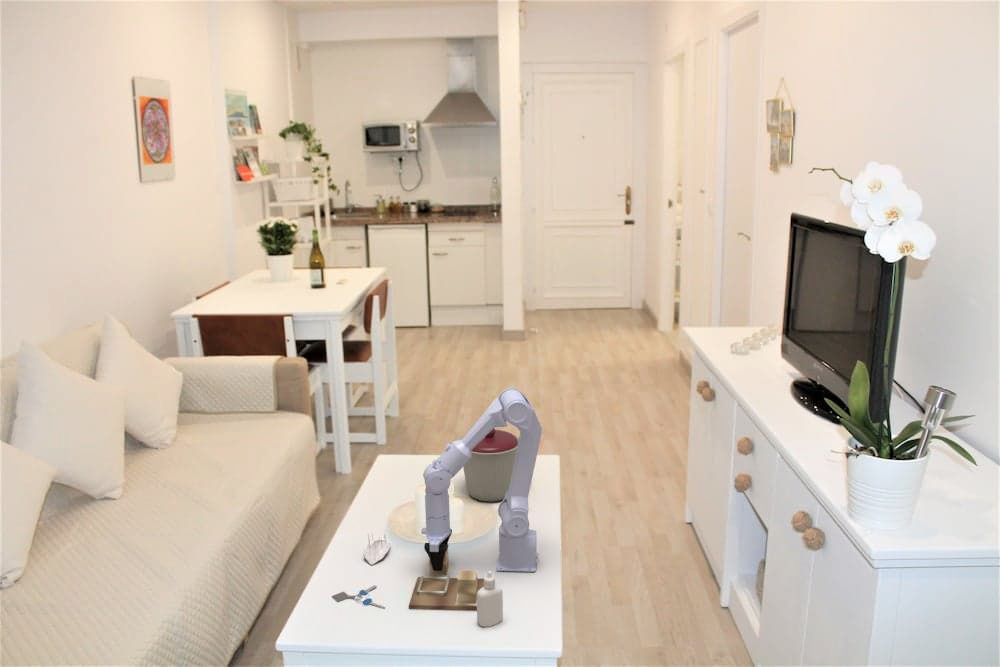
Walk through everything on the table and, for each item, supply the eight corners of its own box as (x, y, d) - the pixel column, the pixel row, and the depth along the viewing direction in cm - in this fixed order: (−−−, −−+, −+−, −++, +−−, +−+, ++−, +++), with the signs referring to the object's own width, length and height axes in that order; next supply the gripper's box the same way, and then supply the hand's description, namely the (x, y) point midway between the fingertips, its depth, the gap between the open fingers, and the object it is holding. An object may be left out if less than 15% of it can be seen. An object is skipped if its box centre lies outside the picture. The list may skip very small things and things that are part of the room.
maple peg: (448, 566, 205) (447, 544, 203) (446, 575, 201) (445, 552, 200) (432, 566, 205) (431, 544, 204) (430, 574, 201) (429, 552, 200)
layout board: (484, 582, 197) (484, 555, 196) (480, 610, 186) (479, 582, 184) (417, 580, 199) (416, 554, 197) (409, 608, 187) (407, 580, 185)
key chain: (328, 602, 191) (327, 599, 190) (343, 583, 198) (343, 580, 198) (384, 610, 187) (384, 607, 187) (398, 591, 195) (398, 588, 195)
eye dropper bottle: (477, 616, 184) (476, 567, 181) (502, 615, 184) (502, 566, 181) (476, 627, 180) (475, 577, 177) (502, 627, 180) (502, 577, 177)
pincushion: (383, 567, 205) (382, 546, 204) (359, 566, 206) (358, 545, 205) (394, 543, 217) (393, 523, 216) (371, 542, 218) (370, 523, 216)
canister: (466, 511, 235) (464, 440, 230) (454, 485, 252) (452, 419, 247) (528, 503, 239) (527, 434, 234) (512, 479, 256) (511, 414, 251)
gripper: (425, 499, 207) (427, 549, 210) (416, 526, 193) (418, 579, 196) (453, 500, 206) (455, 550, 210) (446, 527, 192) (447, 580, 195)
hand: (439, 564), depth 203 cm, fingers open, 5 cm apart
